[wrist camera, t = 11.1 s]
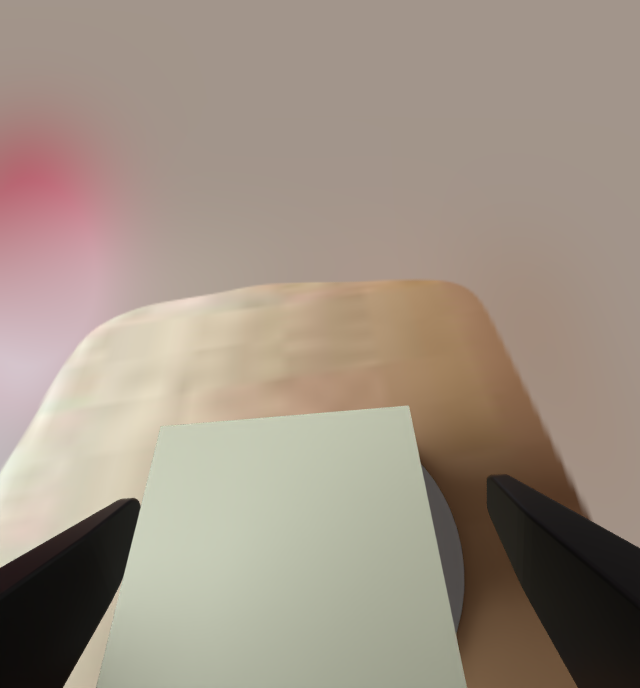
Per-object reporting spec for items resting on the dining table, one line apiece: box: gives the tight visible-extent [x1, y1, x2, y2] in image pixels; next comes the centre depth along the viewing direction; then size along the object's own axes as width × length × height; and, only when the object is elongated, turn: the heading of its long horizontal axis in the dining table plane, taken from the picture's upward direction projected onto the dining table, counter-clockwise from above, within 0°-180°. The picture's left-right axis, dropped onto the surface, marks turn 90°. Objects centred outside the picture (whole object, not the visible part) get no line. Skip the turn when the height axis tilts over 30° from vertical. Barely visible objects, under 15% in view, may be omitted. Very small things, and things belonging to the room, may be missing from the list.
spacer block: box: [96, 406, 467, 688], centre depth 9 cm, size 5×5×11 cm
